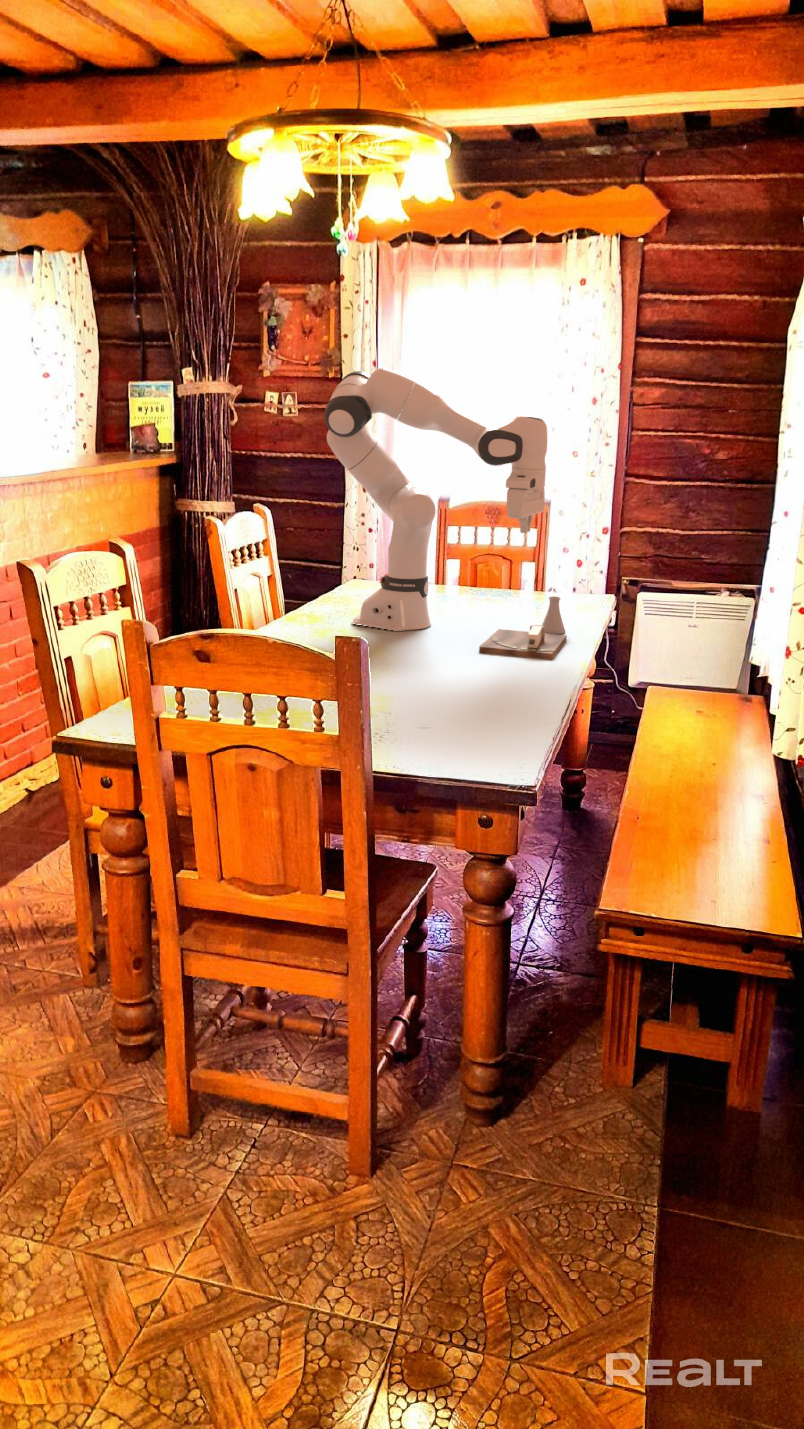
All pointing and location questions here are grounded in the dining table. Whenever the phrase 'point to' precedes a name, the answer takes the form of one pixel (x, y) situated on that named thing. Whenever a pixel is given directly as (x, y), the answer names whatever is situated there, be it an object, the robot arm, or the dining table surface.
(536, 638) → the peg lever
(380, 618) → the robot arm
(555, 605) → the flask
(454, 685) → the dining table surface
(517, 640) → the board
